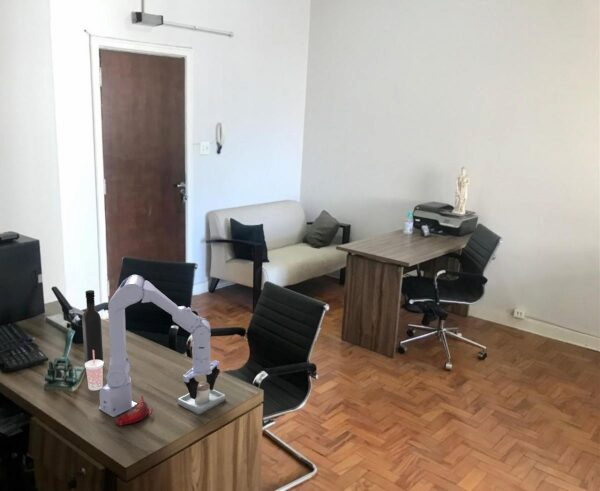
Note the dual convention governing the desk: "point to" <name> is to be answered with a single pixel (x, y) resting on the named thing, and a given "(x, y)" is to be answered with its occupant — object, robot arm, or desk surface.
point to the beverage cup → (94, 373)
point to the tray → (200, 408)
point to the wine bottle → (92, 330)
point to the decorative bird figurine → (135, 413)
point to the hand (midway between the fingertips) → (201, 393)
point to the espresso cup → (203, 393)
